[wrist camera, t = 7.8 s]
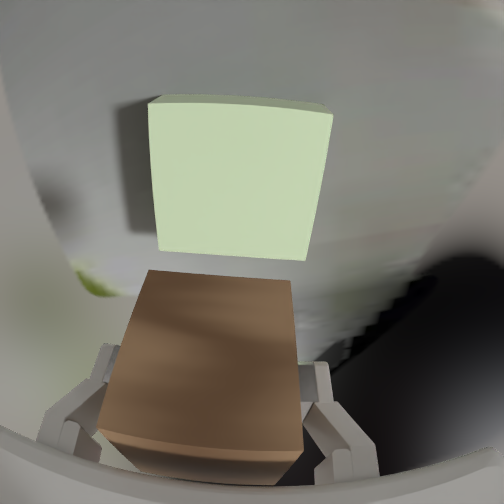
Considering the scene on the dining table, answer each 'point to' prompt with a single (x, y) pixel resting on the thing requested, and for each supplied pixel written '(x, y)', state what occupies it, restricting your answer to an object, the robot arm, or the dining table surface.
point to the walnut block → (207, 380)
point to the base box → (236, 173)
